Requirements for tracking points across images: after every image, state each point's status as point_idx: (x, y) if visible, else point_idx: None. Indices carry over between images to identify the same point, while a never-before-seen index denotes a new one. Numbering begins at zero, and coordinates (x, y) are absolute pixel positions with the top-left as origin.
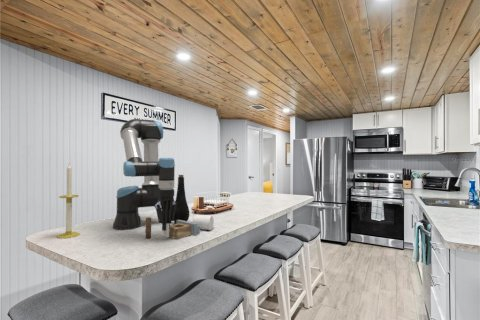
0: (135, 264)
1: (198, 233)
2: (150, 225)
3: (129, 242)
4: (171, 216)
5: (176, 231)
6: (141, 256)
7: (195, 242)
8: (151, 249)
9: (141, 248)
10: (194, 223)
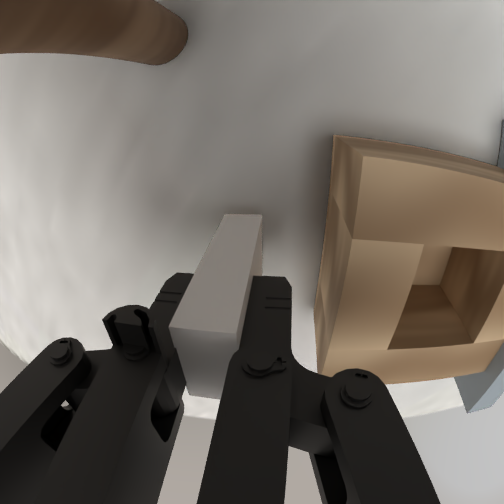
0: (19, 348)
1: None
2: (67, 46)
3: (20, 69)
4: (392, 464)
5: (321, 348)
6: (31, 324)
7: None
8: (71, 305)
9: (34, 247)
10: (492, 396)
